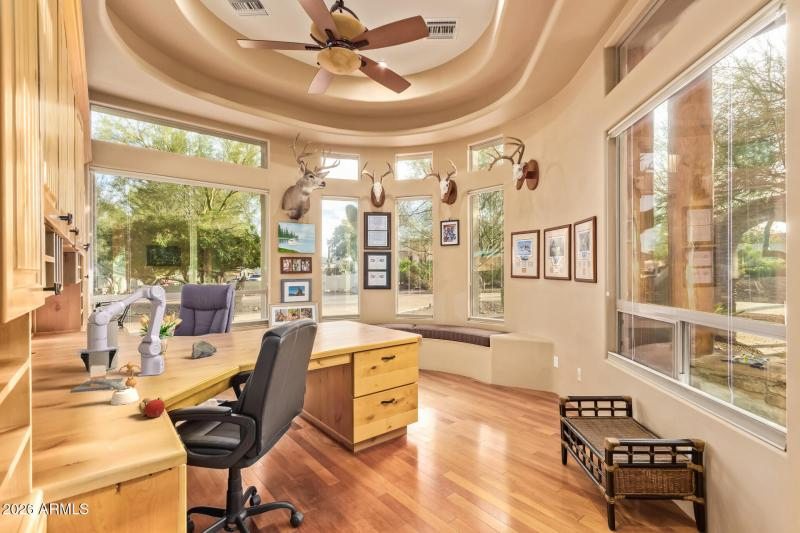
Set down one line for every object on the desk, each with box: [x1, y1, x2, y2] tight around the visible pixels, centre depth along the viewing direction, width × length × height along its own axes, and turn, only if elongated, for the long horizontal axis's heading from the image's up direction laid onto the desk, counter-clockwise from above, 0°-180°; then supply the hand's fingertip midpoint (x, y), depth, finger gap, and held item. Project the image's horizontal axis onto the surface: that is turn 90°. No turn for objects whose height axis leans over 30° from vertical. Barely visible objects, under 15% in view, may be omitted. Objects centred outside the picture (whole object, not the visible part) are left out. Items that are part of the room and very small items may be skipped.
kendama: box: [138, 396, 166, 418], centre depth 136 cm, size 8×6×18 cm
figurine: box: [118, 360, 142, 388], centre depth 163 cm, size 8×6×12 cm
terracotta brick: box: [89, 373, 107, 386], centre depth 167 cm, size 5×6×4 cm
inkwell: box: [81, 378, 140, 406], centre depth 145 cm, size 9×18×10 cm, turn 120°
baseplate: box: [70, 377, 124, 393], centre depth 166 cm, size 14×14×1 cm
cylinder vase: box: [86, 319, 119, 373], centre depth 196 cm, size 12×12×25 cm
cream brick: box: [89, 363, 107, 377], centre depth 167 cm, size 5×6×4 cm
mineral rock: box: [191, 340, 218, 360], centre depth 222 cm, size 13×11×10 cm
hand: (98, 368), depth 167 cm, fingers open, 7 cm apart
